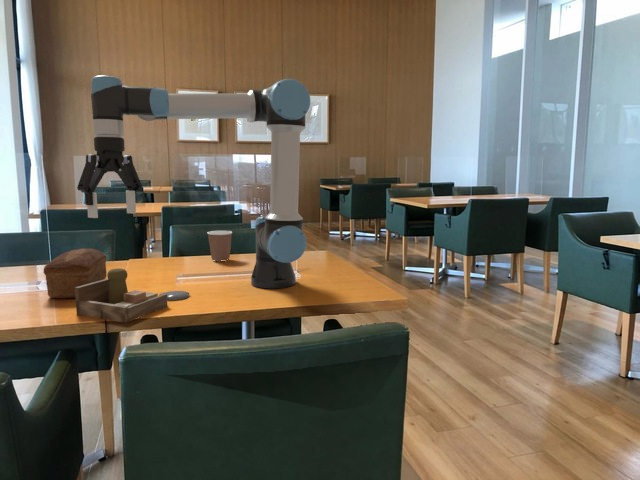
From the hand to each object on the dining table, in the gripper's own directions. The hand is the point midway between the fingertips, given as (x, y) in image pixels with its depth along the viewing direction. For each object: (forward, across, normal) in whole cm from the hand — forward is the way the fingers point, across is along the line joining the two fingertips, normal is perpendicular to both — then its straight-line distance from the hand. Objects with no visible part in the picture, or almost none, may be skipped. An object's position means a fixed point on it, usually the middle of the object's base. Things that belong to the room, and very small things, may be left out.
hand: (113, 215), depth 133 cm
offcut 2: (+26, +2, +8) cm, 27 cm away
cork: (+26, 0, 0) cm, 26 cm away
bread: (+26, -10, -27) cm, 39 cm away
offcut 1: (+26, +6, +8) cm, 28 cm away
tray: (+26, +2, +4) cm, 26 cm away
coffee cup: (+26, -68, -12) cm, 74 cm away
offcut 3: (+26, -3, +8) cm, 27 cm away
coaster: (+26, -15, +7) cm, 31 cm away
